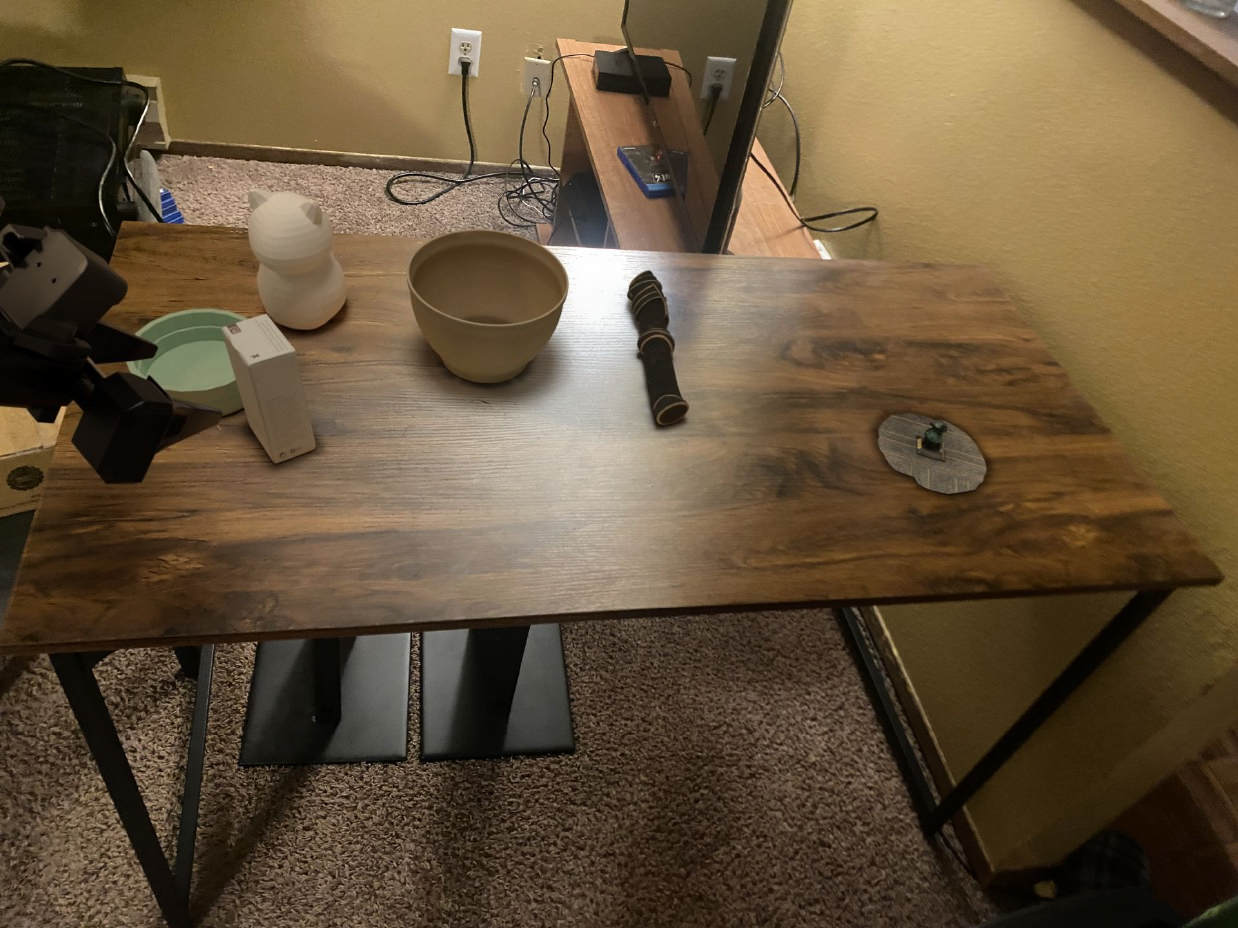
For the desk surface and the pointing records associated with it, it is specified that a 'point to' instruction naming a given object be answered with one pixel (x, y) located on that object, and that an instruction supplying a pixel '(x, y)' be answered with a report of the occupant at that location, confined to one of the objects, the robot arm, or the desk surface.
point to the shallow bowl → (192, 358)
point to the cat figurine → (295, 259)
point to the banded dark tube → (657, 347)
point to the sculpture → (932, 453)
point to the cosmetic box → (270, 387)
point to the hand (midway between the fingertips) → (186, 383)
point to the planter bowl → (486, 300)
